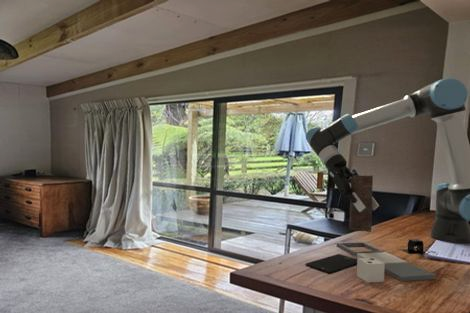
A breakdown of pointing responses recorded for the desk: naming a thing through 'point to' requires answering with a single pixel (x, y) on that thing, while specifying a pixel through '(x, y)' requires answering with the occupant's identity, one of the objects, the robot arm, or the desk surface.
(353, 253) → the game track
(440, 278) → the desk surface
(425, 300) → the desk surface
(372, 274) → the die
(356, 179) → the candle
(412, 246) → the black chunky piece
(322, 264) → the cell phone
